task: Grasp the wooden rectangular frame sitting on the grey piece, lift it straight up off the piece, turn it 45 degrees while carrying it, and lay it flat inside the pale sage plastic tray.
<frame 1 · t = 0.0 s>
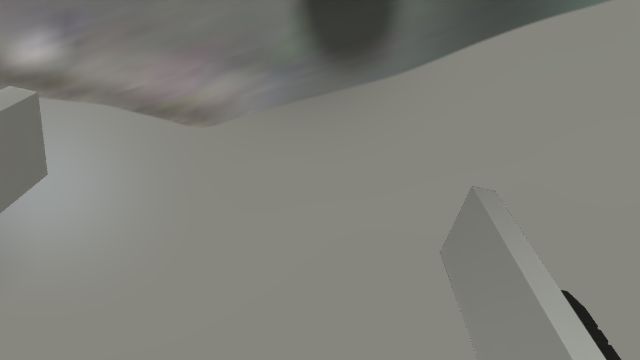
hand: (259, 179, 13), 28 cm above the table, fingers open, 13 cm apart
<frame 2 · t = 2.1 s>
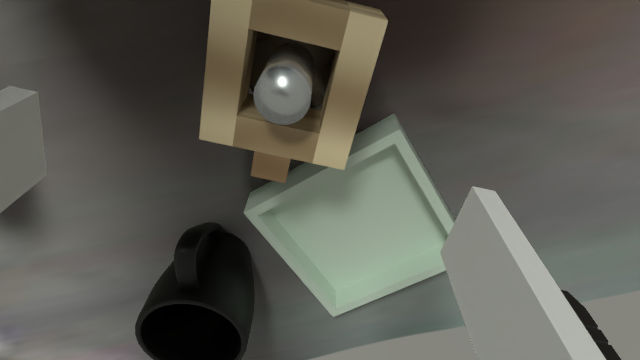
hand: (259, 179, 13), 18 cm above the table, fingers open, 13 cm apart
tray: (359, 215, 36), on the table
wooden rectangular frame: (292, 65, 23), point 6 cm above the table, touching grey piece
grey piece: (299, 43, 29), on the table
mug: (220, 237, 38), on the table
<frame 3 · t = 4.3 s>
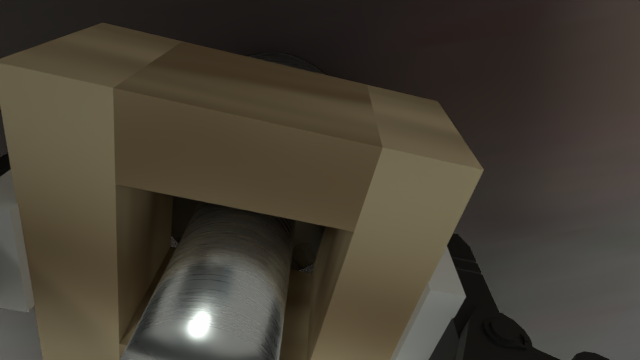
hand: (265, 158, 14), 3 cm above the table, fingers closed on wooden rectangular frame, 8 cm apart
wooden rectangular frame: (252, 202, 12), point 6 cm above the table, touching gripper, grey piece
grey piece: (276, 122, 17), on the table
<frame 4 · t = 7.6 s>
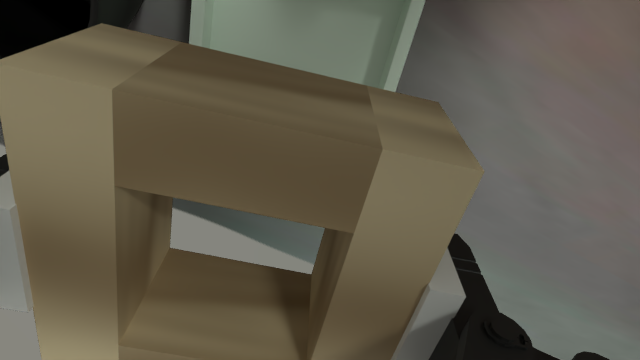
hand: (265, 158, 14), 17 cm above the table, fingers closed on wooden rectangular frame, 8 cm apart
tray: (297, 58, 29), on the table
wooden rectangular frame: (251, 203, 12), point 20 cm above the table, touching gripper
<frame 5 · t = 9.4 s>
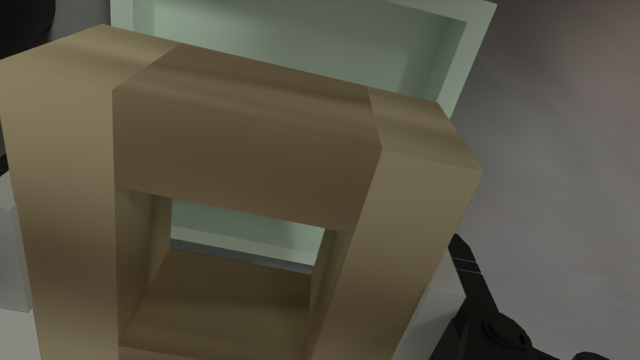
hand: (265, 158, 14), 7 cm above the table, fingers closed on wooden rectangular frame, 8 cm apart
tray: (284, 108, 20), on the table
wooden rectangular frame: (251, 203, 12), point 9 cm above the table, touching gripper
when the fingers open (3 cm above the table, at t = 11.1 s): wooden rectangular frame drops 5 cm, resting on tray.
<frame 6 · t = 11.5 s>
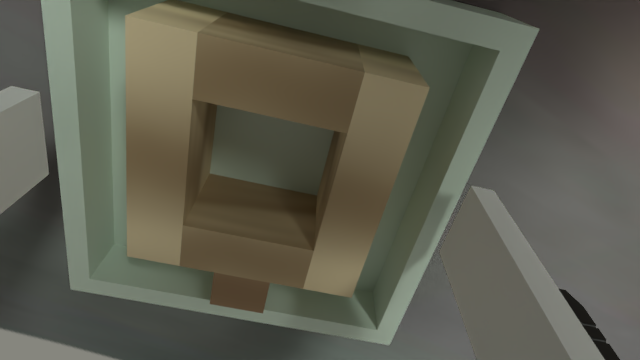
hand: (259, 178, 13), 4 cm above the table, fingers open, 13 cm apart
tray: (271, 146, 17), on the table
wooden rectangular frame: (273, 136, 16), point 1 cm above the table, touching tray
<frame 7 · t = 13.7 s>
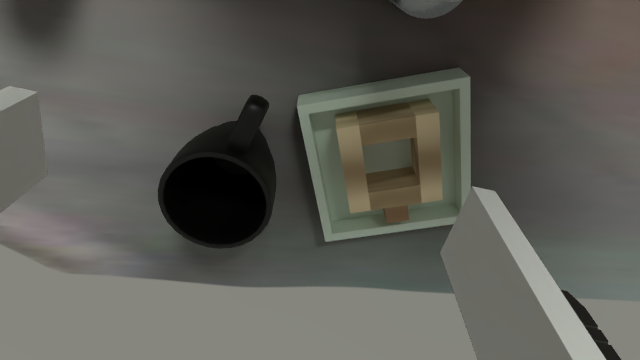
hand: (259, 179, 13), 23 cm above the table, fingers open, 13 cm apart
tray: (385, 153, 38), on the table
wooden rectangular frame: (386, 148, 37), point 1 cm above the table, touching tray
mug: (247, 131, 37), on the table
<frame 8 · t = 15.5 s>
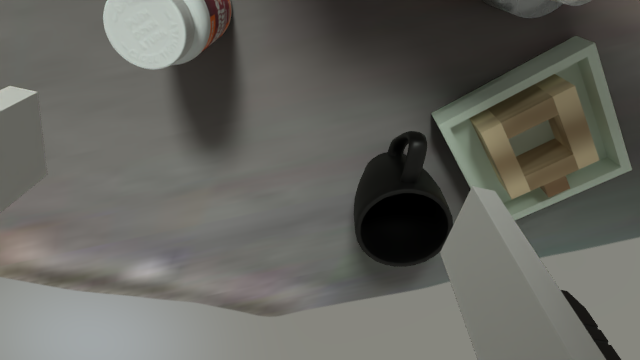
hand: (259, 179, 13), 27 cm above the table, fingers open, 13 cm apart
tray: (524, 134, 41), on the table
pill bottle: (197, 4, 35), on the table
wooden rectangular frame: (524, 131, 39), point 1 cm above the table, touching tray
mug: (393, 158, 42), on the table
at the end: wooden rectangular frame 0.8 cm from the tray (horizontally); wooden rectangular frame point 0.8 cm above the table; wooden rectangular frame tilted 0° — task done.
